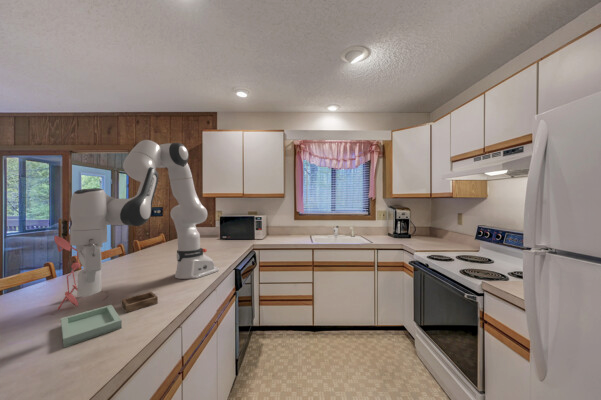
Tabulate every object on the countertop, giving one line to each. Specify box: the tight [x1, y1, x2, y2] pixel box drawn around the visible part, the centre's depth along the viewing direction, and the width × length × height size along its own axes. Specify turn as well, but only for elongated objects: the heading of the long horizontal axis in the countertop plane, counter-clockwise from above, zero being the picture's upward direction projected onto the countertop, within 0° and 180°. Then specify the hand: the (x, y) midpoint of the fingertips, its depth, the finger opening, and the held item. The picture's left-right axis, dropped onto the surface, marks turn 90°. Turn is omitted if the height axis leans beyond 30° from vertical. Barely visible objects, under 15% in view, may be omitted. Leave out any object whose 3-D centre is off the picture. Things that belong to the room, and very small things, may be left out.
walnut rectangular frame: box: [121, 291, 159, 313], centre depth 90 cm, size 10×8×2 cm
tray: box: [60, 304, 123, 349], centre depth 74 cm, size 17×13×2 cm
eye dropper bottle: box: [76, 269, 102, 298], centre depth 74 cm, size 4×6×12 cm
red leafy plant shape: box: [51, 235, 109, 316], centre depth 95 cm, size 15×26×35 cm, turn 33°
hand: (89, 280), depth 74 cm, fingers closed on eye dropper bottle, 4 cm apart
